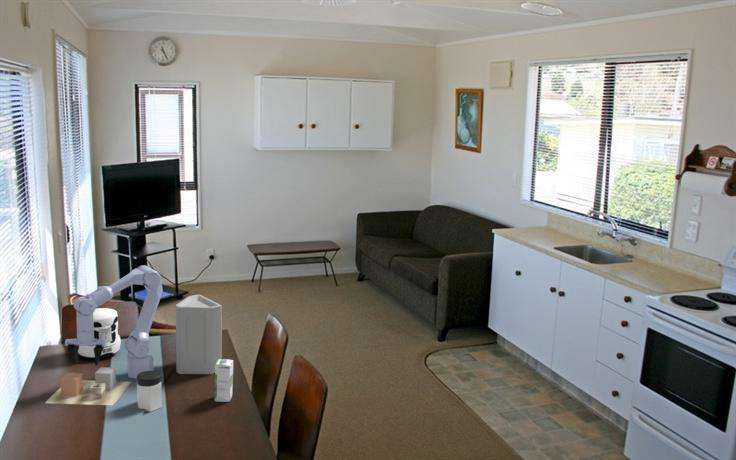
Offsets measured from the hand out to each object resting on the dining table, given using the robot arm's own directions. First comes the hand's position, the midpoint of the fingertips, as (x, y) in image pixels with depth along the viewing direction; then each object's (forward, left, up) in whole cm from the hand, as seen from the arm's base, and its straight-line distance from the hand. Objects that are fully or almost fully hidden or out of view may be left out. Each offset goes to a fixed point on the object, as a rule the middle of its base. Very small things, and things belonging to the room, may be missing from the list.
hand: (86, 363), depth 246 cm
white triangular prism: (-35, -22, -10) cm, 42 cm away
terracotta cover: (+3, +6, -9) cm, 11 cm away
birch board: (-3, +5, -10) cm, 11 cm away
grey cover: (-7, 0, -9) cm, 11 cm away
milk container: (+8, -34, -10) cm, 37 cm away
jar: (-27, +13, -10) cm, 31 cm away
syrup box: (-52, +5, -10) cm, 53 cm away
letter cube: (-7, +8, -9) cm, 14 cm away
